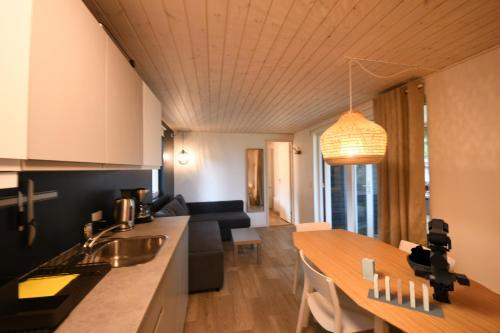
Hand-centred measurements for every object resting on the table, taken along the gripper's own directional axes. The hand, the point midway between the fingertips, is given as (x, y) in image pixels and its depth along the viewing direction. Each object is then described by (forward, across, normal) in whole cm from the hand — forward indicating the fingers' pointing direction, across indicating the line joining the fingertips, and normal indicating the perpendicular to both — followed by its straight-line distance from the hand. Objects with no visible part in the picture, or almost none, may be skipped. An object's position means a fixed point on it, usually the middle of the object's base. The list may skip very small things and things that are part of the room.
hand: (440, 294), depth 98 cm
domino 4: (+8, -10, 0) cm, 13 cm away
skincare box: (+9, -30, +16) cm, 35 cm away
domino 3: (+8, -16, 0) cm, 18 cm away
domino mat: (+8, -14, 0) cm, 17 cm away
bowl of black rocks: (+9, -2, +36) cm, 37 cm away
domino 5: (+8, -6, 0) cm, 10 cm away
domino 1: (+8, -26, 0) cm, 27 cm away
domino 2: (+8, -20, 0) cm, 22 cm away
